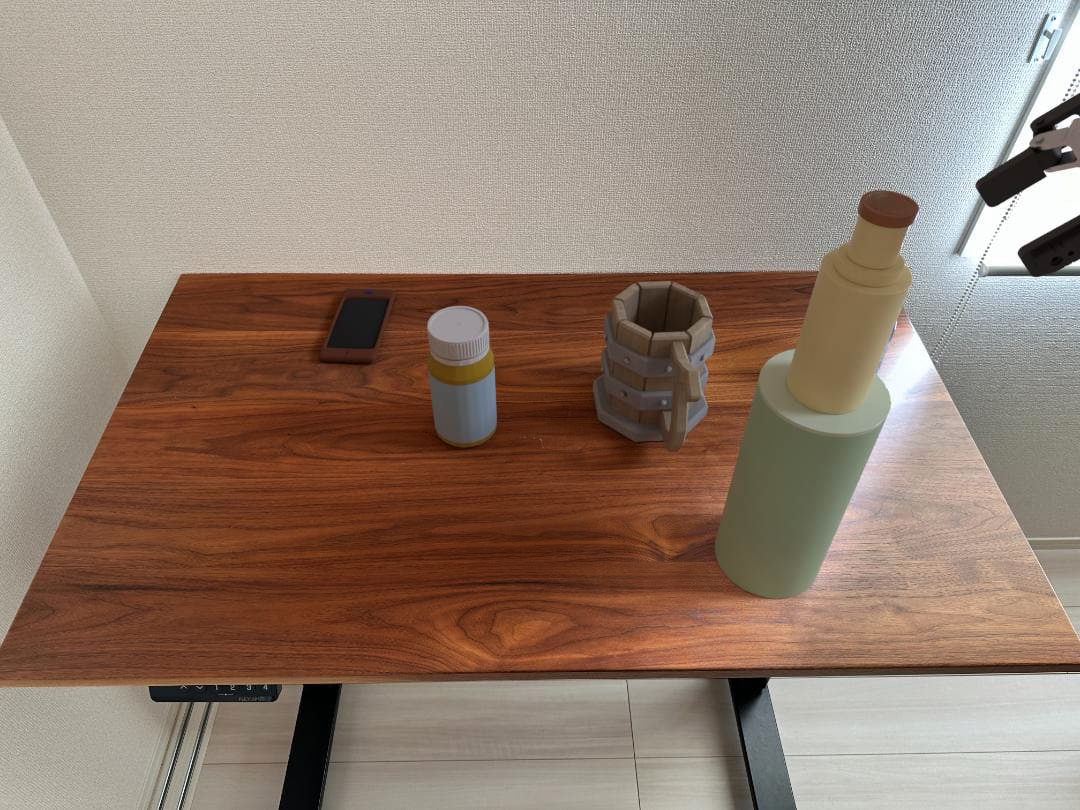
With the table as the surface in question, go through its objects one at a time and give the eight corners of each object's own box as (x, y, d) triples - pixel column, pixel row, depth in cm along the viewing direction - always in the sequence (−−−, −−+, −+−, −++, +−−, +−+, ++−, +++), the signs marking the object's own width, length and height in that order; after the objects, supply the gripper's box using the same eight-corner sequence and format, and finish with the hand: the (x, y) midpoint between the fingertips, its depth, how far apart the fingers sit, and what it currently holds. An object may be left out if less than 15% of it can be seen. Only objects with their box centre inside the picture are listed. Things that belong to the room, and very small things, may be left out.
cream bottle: (870, 376, 61) (944, 193, 50) (858, 424, 58) (934, 236, 47) (795, 355, 63) (850, 173, 52) (778, 399, 59) (833, 213, 48)
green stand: (827, 535, 77) (899, 369, 62) (806, 615, 71) (880, 450, 56) (730, 501, 80) (776, 335, 65) (701, 574, 74) (744, 408, 59)
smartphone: (395, 288, 106) (373, 358, 95) (396, 294, 107) (374, 364, 96) (344, 287, 106) (316, 356, 95) (345, 292, 107) (318, 362, 96)
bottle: (459, 400, 91) (449, 295, 81) (508, 421, 89) (505, 316, 78) (423, 436, 87) (408, 330, 77) (474, 459, 84) (466, 354, 74)
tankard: (588, 371, 95) (595, 268, 85) (689, 366, 96) (708, 264, 86) (611, 495, 81) (623, 390, 71) (729, 489, 82) (758, 384, 71)
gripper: (1220, -42, 45) (943, 139, 53) (1391, 42, 34) (1013, 250, 43) (1258, 57, 48) (992, 213, 57) (1425, 161, 38) (1067, 332, 46)
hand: (1001, 229), depth 50 cm, fingers open, 8 cm apart
